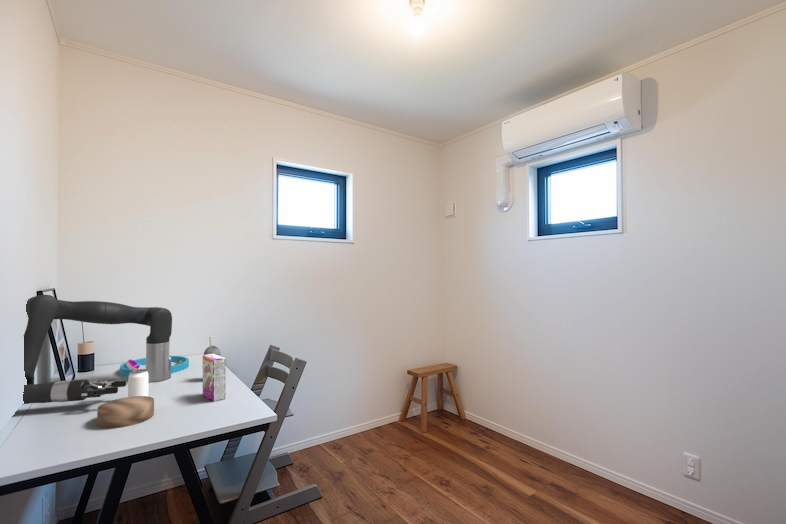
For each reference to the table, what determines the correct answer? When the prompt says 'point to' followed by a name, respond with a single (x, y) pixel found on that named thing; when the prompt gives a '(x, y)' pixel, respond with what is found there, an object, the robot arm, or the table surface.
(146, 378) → the can
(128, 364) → the blue ring
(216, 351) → the beverage cup
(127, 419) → the tan rounded flat lump
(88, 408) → the table surface
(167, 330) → the robot arm
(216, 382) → the candy bar box
